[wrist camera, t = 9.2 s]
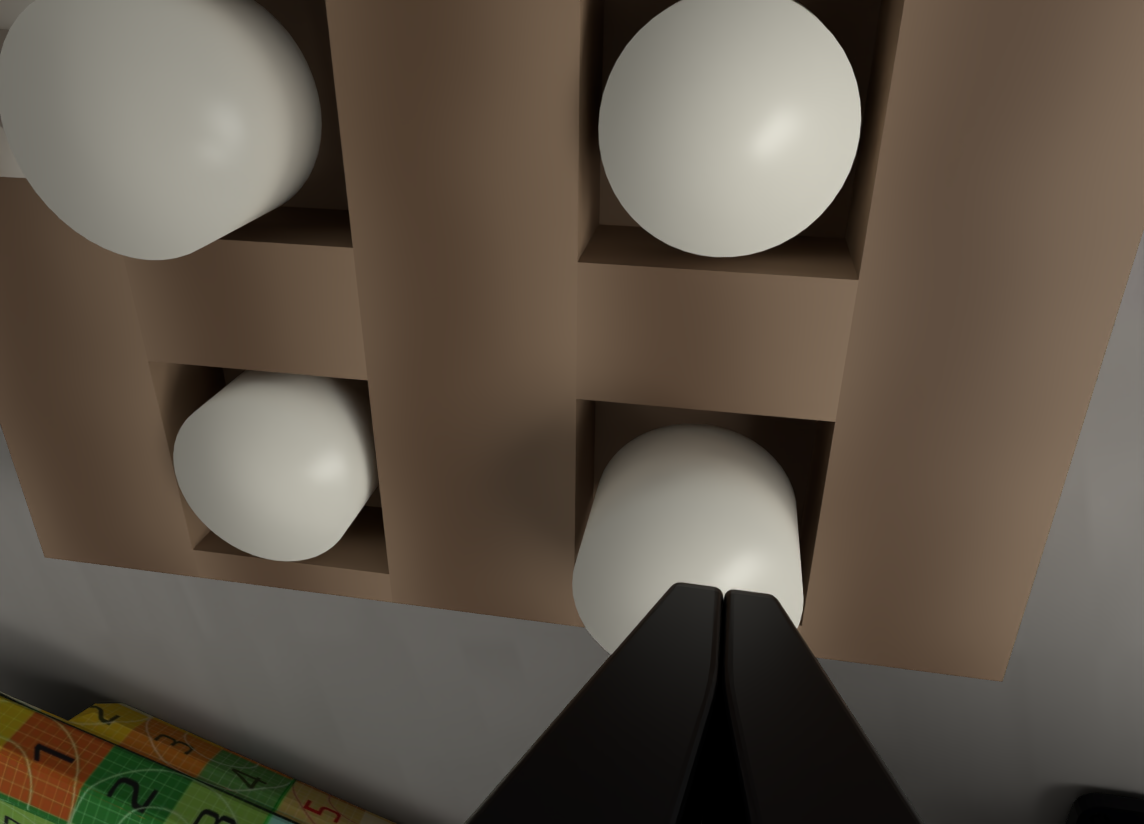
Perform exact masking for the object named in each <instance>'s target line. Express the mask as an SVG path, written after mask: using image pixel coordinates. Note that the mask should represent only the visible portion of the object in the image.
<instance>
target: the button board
mask: <svg viewBox="0 0 1144 824" xmlns="http://www.w3.org/2000/svg"><path fill="white" fill-rule="evenodd" d="M34 1H35V0H0V54H1V50H2V46H3V43H4V40H5V38H6V36H7V34H8V32H9V29H10V28H11V26H12V25H13V23H14V22H15V20H16V19H17V17H18V16H19V15H20V14H21V13H22V12H23V11H24V10H25V9H26V7H27V6H28V5H30V4H31V3H32V2H34ZM254 1H256V2H257V3H258V4H260V5H261V6H262V7H264V8H265V9H266V10H267V11H268V12H270V13H271V14H272V15H273V16H274V17H275V18H276V19H277V20H278V21H279V22H280V23H281V24H282V26H283V27H284V28H285V29H286V30H287V31H288V33H289V34H290V35H291V37H292V38H293V40H294V41H295V42H296V44H297V45H298V47H299V49H300V50H301V52H302V54H303V56H304V58H305V60H306V61H307V64H308V66H309V68H310V71H311V73H312V76H313V78H314V81H315V85H316V88H317V92H318V96H319V102H320V107H321V120H322V130H321V142H320V147H319V152H318V156H317V159H316V162H315V165H314V167H313V169H312V171H311V173H310V175H309V177H308V179H307V181H306V182H305V183H304V185H303V186H302V188H301V189H300V190H299V191H298V192H297V193H296V194H295V195H294V196H293V197H292V198H291V199H290V200H288V201H287V202H285V203H284V204H283V205H281V206H279V207H277V208H276V209H274V210H272V211H270V212H268V213H266V214H264V215H262V216H261V217H259V218H257V219H255V220H253V221H251V222H249V223H247V224H246V225H244V226H242V227H240V228H238V229H236V230H234V231H232V232H230V233H229V234H227V235H225V236H223V237H221V238H219V239H217V240H215V241H214V242H212V243H210V244H208V245H206V246H204V247H202V248H200V249H198V250H196V251H194V252H192V253H190V254H188V255H184V256H181V257H178V258H173V259H166V260H144V259H137V258H132V257H128V256H124V255H120V254H117V253H115V252H112V251H110V250H107V249H105V248H102V247H101V246H99V245H97V244H95V243H93V242H91V241H89V240H88V239H86V238H85V237H83V236H82V235H80V234H79V233H77V232H76V231H74V230H73V229H72V228H71V227H69V226H68V225H67V224H66V223H65V222H63V221H62V220H61V219H60V218H59V217H58V216H57V215H56V214H55V213H54V212H53V211H52V210H51V209H50V208H49V207H48V206H47V205H46V204H45V203H44V201H43V200H42V199H41V198H40V197H39V195H38V194H37V193H36V192H35V190H34V189H33V187H32V186H31V184H30V183H29V182H28V180H27V179H26V177H25V175H24V174H23V172H22V170H21V168H20V167H19V165H18V163H17V161H16V159H15V157H14V155H13V152H12V150H11V148H10V146H9V143H8V140H7V137H6V134H5V131H4V128H3V125H2V120H1V116H0V424H1V427H2V430H3V433H4V436H5V439H6V442H7V445H8V448H9V451H10V454H11V457H12V460H13V463H14V466H15V469H16V472H17V475H18V478H19V481H20V484H21V487H22V490H23V493H24V496H25V499H26V502H27V505H28V508H29V511H30V514H31V517H32V520H33V523H34V526H35V529H36V532H37V535H38V538H39V541H40V544H41V547H42V550H43V553H44V556H45V557H46V558H54V559H61V560H69V561H77V562H85V563H92V564H100V565H108V566H115V567H123V568H131V569H138V570H146V571H154V572H162V573H169V574H177V575H185V576H192V577H200V578H208V579H216V580H223V581H231V582H239V583H246V584H254V585H262V586H269V587H277V588H285V589H293V590H300V591H308V592H316V593H323V594H331V595H339V596H346V597H354V598H362V599H370V600H377V601H385V602H393V603H400V604H408V605H416V606H423V607H431V608H439V609H447V610H454V611H462V612H470V613H477V614H485V615H493V616H501V617H508V618H516V619H524V620H531V621H539V622H547V623H554V624H562V625H570V626H578V627H585V626H584V624H583V622H582V620H581V618H580V616H579V614H578V611H577V609H576V606H575V601H574V597H573V587H572V580H573V571H574V567H575V563H576V559H577V556H578V552H579V549H580V546H581V542H582V539H583V535H584V532H585V529H586V525H587V522H588V518H589V515H590V512H591V508H592V505H593V501H594V498H595V495H596V491H597V488H598V484H599V481H600V478H601V476H602V474H603V471H604V469H605V468H606V466H607V465H608V463H609V461H610V460H611V459H612V458H613V457H614V455H615V454H616V453H617V452H618V451H619V450H620V449H621V448H622V447H624V446H625V445H626V444H627V443H629V442H630V441H632V440H633V439H635V438H636V437H638V436H640V435H642V434H644V433H646V432H648V431H651V430H654V429H657V428H660V427H665V426H670V425H675V424H705V425H712V426H717V427H721V428H725V429H728V430H731V431H734V432H736V433H739V434H741V435H743V436H745V437H747V438H749V439H751V440H752V441H754V442H755V443H757V444H758V445H760V446H761V447H762V448H764V449H765V450H766V451H767V452H768V453H769V454H770V455H772V456H773V457H774V458H775V460H776V461H777V462H778V463H779V465H780V466H781V467H782V468H783V470H784V472H785V473H786V475H787V477H788V478H789V481H790V483H791V485H792V488H793V491H794V495H795V499H796V508H797V520H798V534H799V547H800V560H801V573H802V586H803V612H802V615H801V619H800V623H799V626H798V628H797V630H798V631H799V633H800V634H801V636H802V637H803V639H804V640H805V642H806V643H807V645H808V647H809V648H810V650H811V651H812V653H813V654H814V656H815V657H816V658H824V659H832V660H839V661H847V662H855V663H863V664H870V665H878V666H886V667H893V668H901V669H909V670H916V671H924V672H932V673H940V674H947V675H955V676H963V677H970V678H978V679H986V680H993V681H1001V682H1002V681H1003V678H1004V675H1005V672H1006V668H1007V665H1008V662H1009V659H1010V656H1011V652H1012V649H1013V646H1014V643H1015V640H1016V636H1017V633H1018V630H1019V627H1020V624H1021V620H1022V617H1023V614H1024V611H1025V608H1026V604H1027V601H1028V598H1029V595H1030V592H1031V588H1032V585H1033V582H1034V579H1035V576H1036V572H1037V569H1038V566H1039V563H1040V560H1041V556H1042V553H1043V550H1044V547H1045V544H1046V540H1047V537H1048V534H1049V531H1050V528H1051V524H1052V521H1053V518H1054V515H1055V512H1056V508H1057V505H1058V502H1059V499H1060V496H1061V492H1062V489H1063V486H1064V483H1065V480H1066V476H1067V473H1068V470H1069V467H1070V464H1071V460H1072V457H1073V454H1074V451H1075V448H1076V444H1077V441H1078V438H1079V435H1080V432H1081V428H1082V425H1083V422H1084V419H1085V416H1086V412H1087V409H1088V406H1089V403H1090V400H1091V396H1092V393H1093V390H1094V387H1095V384H1096V380H1097V377H1098V374H1099V371H1100V368H1101V364H1102V361H1103V358H1104V355H1105V352H1106V348H1107V345H1108V342H1109V339H1110V336H1111V332H1112V329H1113V326H1114V323H1115V320H1116V316H1117V313H1118V310H1119V307H1120V304H1121V300H1122V297H1123V294H1124V291H1125V288H1126V284H1127V281H1128V278H1129V275H1130V272H1131V268H1132V265H1133V262H1134V259H1135V256H1136V252H1137V249H1138V246H1139V243H1140V240H1141V236H1142V233H1143V230H1144V0H797V1H798V2H800V3H801V4H802V5H803V6H805V7H806V8H807V9H808V10H810V11H811V12H812V13H813V14H814V15H815V16H816V17H817V18H818V19H819V21H820V22H821V23H822V24H823V25H824V26H825V27H826V28H827V29H828V30H829V31H830V32H831V33H832V34H833V36H834V37H835V39H836V40H837V41H838V43H839V44H840V46H841V47H842V49H843V50H844V52H845V54H846V56H847V58H848V60H849V62H850V64H851V67H852V70H853V73H854V76H855V79H856V82H857V86H858V91H859V97H860V106H861V126H860V138H859V142H858V147H857V151H856V155H855V158H854V161H853V164H852V167H851V169H850V172H849V174H848V176H847V178H846V180H845V182H844V184H843V186H842V188H841V189H840V191H839V192H838V194H837V195H836V197H835V198H834V200H833V201H832V203H831V204H830V205H829V206H828V207H827V208H826V210H825V211H824V212H823V213H822V214H821V215H820V216H819V217H818V218H817V219H816V220H815V221H814V222H813V223H812V224H810V225H809V226H808V227H807V228H806V229H804V230H803V231H801V232H800V233H799V234H797V235H796V236H794V237H793V238H791V239H789V240H787V241H785V242H783V243H781V244H780V245H777V246H775V247H772V248H770V249H767V250H765V251H761V252H757V253H753V254H749V255H744V256H736V257H711V256H703V255H697V254H693V253H689V252H686V251H683V250H680V249H678V248H675V247H672V246H670V245H668V244H666V243H664V242H663V241H661V240H659V239H657V238H656V237H654V236H653V235H651V234H650V233H649V232H647V231H646V230H645V229H643V228H642V227H641V226H640V225H639V224H638V223H637V222H636V221H635V220H634V219H633V218H632V217H631V216H630V215H629V213H628V212H627V211H626V210H625V208H624V207H623V206H622V205H621V203H620V201H619V200H618V198H617V196H616V195H615V193H614V192H613V189H612V187H611V185H610V183H609V180H608V178H607V176H606V173H605V169H604V166H603V163H602V158H601V153H600V147H599V131H598V125H599V113H600V106H601V102H602V97H603V92H604V89H605V87H606V84H607V81H608V78H609V75H610V73H611V71H612V69H613V67H614V65H615V63H616V61H617V59H618V58H619V56H620V55H621V53H622V52H623V50H624V49H625V47H626V46H627V44H628V43H629V42H630V41H631V40H632V38H633V37H634V36H635V35H636V34H637V33H638V31H639V30H640V29H642V28H643V27H644V26H645V25H646V24H647V23H648V22H649V21H650V20H652V19H653V18H654V17H656V16H657V15H658V14H660V13H661V12H663V11H664V10H666V9H667V8H669V7H670V6H672V5H674V4H675V3H677V2H678V1H680V0H254ZM245 370H256V371H267V372H279V373H290V374H301V375H312V376H324V377H335V378H346V379H358V380H368V388H369V397H370V406H371V415H372V424H373V433H374V442H375V451H376V460H377V469H378V478H379V485H378V486H377V488H376V489H375V491H374V492H373V494H372V495H371V496H370V498H369V499H368V501H367V502H366V503H365V505H364V506H363V508H362V509H361V511H360V512H359V513H358V515H357V516H356V518H355V519H354V520H353V522H352V523H351V525H350V526H349V527H348V529H347V530H346V532H345V533H344V535H343V536H342V537H341V539H340V540H339V541H338V542H337V543H336V544H335V545H334V546H333V547H332V548H330V549H329V550H327V551H326V552H324V553H322V554H320V555H318V556H316V557H313V558H310V559H305V560H300V561H276V560H270V559H265V558H261V557H258V556H254V555H252V554H249V553H247V552H244V551H242V550H240V549H238V548H236V547H234V546H232V545H231V544H229V543H228V542H226V541H224V540H223V539H221V538H220V537H219V536H218V535H216V534H215V533H214V532H212V531H211V530H210V529H209V528H208V527H207V526H206V525H205V524H204V523H203V522H202V521H201V520H200V519H199V518H198V516H197V515H196V514H195V513H194V511H193V510H192V509H191V507H190V506H189V504H188V503H187V501H186V499H185V497H184V496H183V494H182V491H181V489H180V487H179V485H178V481H177V478H176V475H175V469H174V459H173V452H174V445H175V441H176V437H177V434H178V432H179V430H180V428H181V426H182V425H183V424H184V422H185V421H186V420H187V418H188V417H189V416H191V415H192V414H193V413H194V412H195V411H196V410H197V409H199V408H200V407H201V406H202V405H203V404H205V403H206V402H207V401H208V400H210V399H211V398H212V397H213V396H214V395H216V394H217V393H218V392H219V391H221V390H222V389H223V388H224V387H225V386H227V385H228V384H229V383H230V382H232V381H233V380H234V379H235V378H236V377H238V376H239V375H240V374H241V373H243V372H244V371H245ZM585 628H586V627H585Z"/></svg>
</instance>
